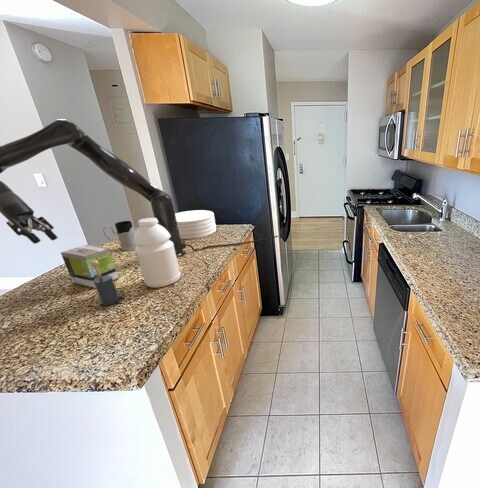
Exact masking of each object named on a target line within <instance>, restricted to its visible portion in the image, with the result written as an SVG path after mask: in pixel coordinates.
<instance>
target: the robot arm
mask: <svg viewBox="0 0 480 488" xmlns="http://www.w3.org/2000/svg"><path fill="white" fill-rule="evenodd" d="M64 145H66V146H69V147H70V148H72V149H73V150H76V151H77V152H78V153H80V154H81V155H83V156H85V157H86V158H87V159H88V160H90V161H91V163H93V164H94V165H95V166H96V167H97V168H98V169H99V170H101V171H102V172H103V173H104V174H106V175H107V176H108V177H109V178H111V179H112V180H114V181H115V182H117V183H119V184H120V185H122V186H124V187H126V188H128V189H130V190H132V191H133V192H136V193H138V194H139V195H140V196H141V197H143V198H144V199H146V200H147V201H148V202H149V203H150V207H151V210H152V215H153V218H157V220H158V223H157V224H159V225H161V226H163V227H164V228H165V229H166V230H167V231H168V232H169V234H170V235H171V237H170V238H169V240H170V241H172V242H173V244H174V248H175V253H176V257H180V256H182V255H183V256H184V254H185V249H186V248H187V247H189V248H190V249H192V251H195V252H197V251H202V250H206V249H208V248H216V247H227V246H237V245H245V244H251V243H252V244H253V243H258V242H261V241H267V240H271V239H276V238H279V235H274V236H271V237H270V236H269V237H266V238H260V239H256V240H250V241H243V242H235V243H226V244H214V245H213V244H212V245H207V246H204V247H202V248H198V249H196V248H194V246H193V245H190V244H187V243H186V241H185V240H183V239H181V236H180V233H179V229H178V224H177V220H176V216H175V214H176V212H175V207H174V202H173V199H172V196H170V195H169V194H168V193H166V192H165V191H164V190H162V189H160V188H158V187H157V186H155V185H154V184H152V183H151V182H150V181H149V180H147V179H146V178H145V177H144V176H143V175H142V174H141V173H139V172H138V171H137V170H136V169H135V168H134V167H132V166H131V165H129V164H128V163H127V162H126V161H124V160H123V159H122V158H120V157H118V156H117V155H115V154H114V153H113V152H111V151H109V150H108V149H106V148H104V147H102V146H101V145H100V144H99V143H97V142H96V141H95V140H94V139H92V138H91V137H90V136H89V135H88V134H86V132H85V131H83V130H82V128H81V127H79V125H77V124H76V123H74V122H73V121H71V120H68V119H62V118H61V119H56V120H54V121H53V122H51V123H49V124H47V125H46V126H44V127H43V128H41V129H39V130H37V131H36V132H33V133H31V134H29V135H26V136H25V137H22V138H19V139H16V140H13V141H10V142H8V143H5V144H2V145H0V174H2V173H3V172H5V171H6V170H7V169H10V168H12V167H14V166H16V165H19V164H22V163H24V162H26V161H29V160H30V159H32V158H34V157H36V156H38V155H39V154H41V153H43V152H46V151H47V150H51V149H53V148H56V147H59V146H64ZM0 214H1V215H2V216H3V217H4V218H6V220H7V221H6V222H5V223H6V225H7V226H8V227H9V228H10V229H11V230H12V232H14V233H15V234H16V236H19V237H20V236H23V237H26V238H27V239H28V240H29V241H30V242H31V243H32V244H34V245H35V244H36V245H37V244H38V243H40V242H41V241H42V240H41V239H40V238H39V236H37V235H36V234H35V233H34V232H33V230H35V231H37V232H42V233H44V235H45V236H47V237H48V238H49V239H50V240H51V241H56V240H57V239H58V238H59V237H58V235H57V234H55V232H53V229H54V228H55V227H54V226H53V225H52V224H51V223H50V222H49V221H48V220H47V219H46V218H45V217H44V216H40V217H36V216H34V214H35V211H34V210H33V209H32V208H31V207H30V206H29V205H28V204H27V203H26V202H25V201H24V200H23V199H22V198H21V197H20V196H19V195H17V194H16V193H15V192H14V191H13V189H11V188H10V187H9V186H8V185H7V184H6V183H5V182H3V181H2V180H0Z"/></svg>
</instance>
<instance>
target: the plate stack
mask: <svg viewBox="0 0 480 488" xmlns="http://www.w3.org/2000/svg"><path fill="white" fill-rule="evenodd" d="M175 216H176V220H177V224H178V229H179V233H180V236H181V240H191V239H199V238H203V237H207V236H210V235H212V234H214V233H215V232H216V231H217V224H216V218H215V213H214V212H213V211H212V210H205V209H195V210H186V211H180V212H175Z"/></svg>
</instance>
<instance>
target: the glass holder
mask: <svg viewBox="0 0 480 488" xmlns="http://www.w3.org/2000/svg"><path fill="white" fill-rule="evenodd" d="M114 226H115V229H116V232H115V230H114V229H113V228H112V227H111V226H105V227H103V228H102V232H103V234H104V236H105V237H106V238H107V240H109V241H110V242H111V241H112V242H113V243H116V244H119V245H120V247H121V248H120V249H121V251H131V250H135V249H136V247H137V246H138V245H137V244H135V243H134V242H133V239H134V235H135V233H136V231H135V229H134V225H133V223H132V220H123V221H118V222H115V223H114ZM107 228H108V229H111V231H112V233H113V234H116V235H117V237H118V240H119V241H115V240H113V239H111V238H110V237H108V236H107V234H106V233H105V229H107Z"/></svg>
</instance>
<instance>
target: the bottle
mask: <svg viewBox="0 0 480 488" xmlns="http://www.w3.org/2000/svg"><path fill="white" fill-rule="evenodd" d="M157 223H158V220H157V218H154V217H146V218H140V219H138V221H137V224H138V226H139V227H137V229H136V231H135V235H134V239H133V242H134V243H135V244H137V245H138V246H137V247H136V249H134V252H135V256H136V257H137V260H138V264H139V268H140V271H141V274H142V277H143V282H144V284H145V286H146V287H148V288H153V289H154V288H155V289H156V288H162V287H163V288H164V287H166V286H170V285H172V284H174V283H176V282H178V281H179V280H180V279H181V276H182V274H181V273H182V272H181V271H180V266H179V262H178V256H176V253H175V248H174V244H173V242H172V241H170V240H169V238H170V237H171V235H170V234H169V232H168V231H167V230H166V229H165V228H164V227H163V226H161V225H159V224H157Z"/></svg>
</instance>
